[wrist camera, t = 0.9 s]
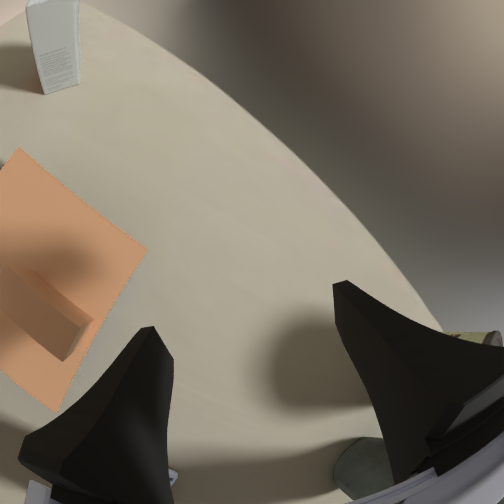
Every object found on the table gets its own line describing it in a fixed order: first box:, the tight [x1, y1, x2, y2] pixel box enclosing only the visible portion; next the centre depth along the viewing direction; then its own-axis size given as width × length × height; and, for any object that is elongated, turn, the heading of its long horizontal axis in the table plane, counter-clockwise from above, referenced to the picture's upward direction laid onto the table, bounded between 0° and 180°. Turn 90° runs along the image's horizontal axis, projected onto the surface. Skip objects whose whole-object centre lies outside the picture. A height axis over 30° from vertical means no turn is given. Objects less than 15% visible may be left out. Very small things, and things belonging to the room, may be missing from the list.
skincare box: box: [26, 0, 80, 94], centre depth 13 cm, size 6×4×12 cm
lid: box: [0, 147, 148, 414], centre depth 11 cm, size 13×13×6 cm
